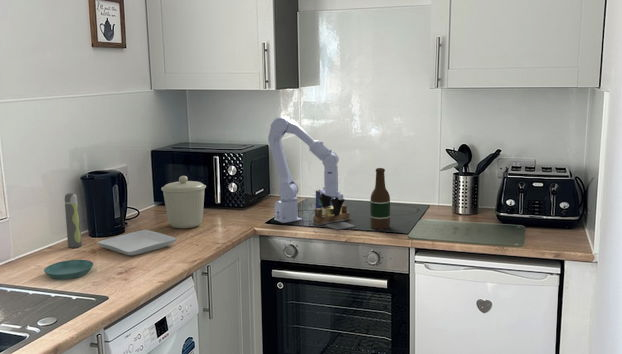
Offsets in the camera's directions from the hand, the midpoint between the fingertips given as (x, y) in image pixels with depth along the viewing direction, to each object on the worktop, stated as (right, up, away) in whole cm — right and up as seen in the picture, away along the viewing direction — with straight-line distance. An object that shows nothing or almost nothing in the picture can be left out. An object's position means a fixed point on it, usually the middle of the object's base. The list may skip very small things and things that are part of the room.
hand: (331, 213), depth 255 cm
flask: (-2, 0, +21) cm, 21 cm away
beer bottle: (+19, -5, -11) cm, 23 cm away
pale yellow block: (0, 0, 0) cm, 0 cm away
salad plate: (-72, -11, -32) cm, 80 cm away
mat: (+3, -5, -8) cm, 10 cm away
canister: (-61, -5, -2) cm, 61 cm away
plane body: (0, -3, +1) cm, 3 cm away
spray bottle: (-96, -11, -30) cm, 101 cm away
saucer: (-86, -16, -60) cm, 106 cm away
